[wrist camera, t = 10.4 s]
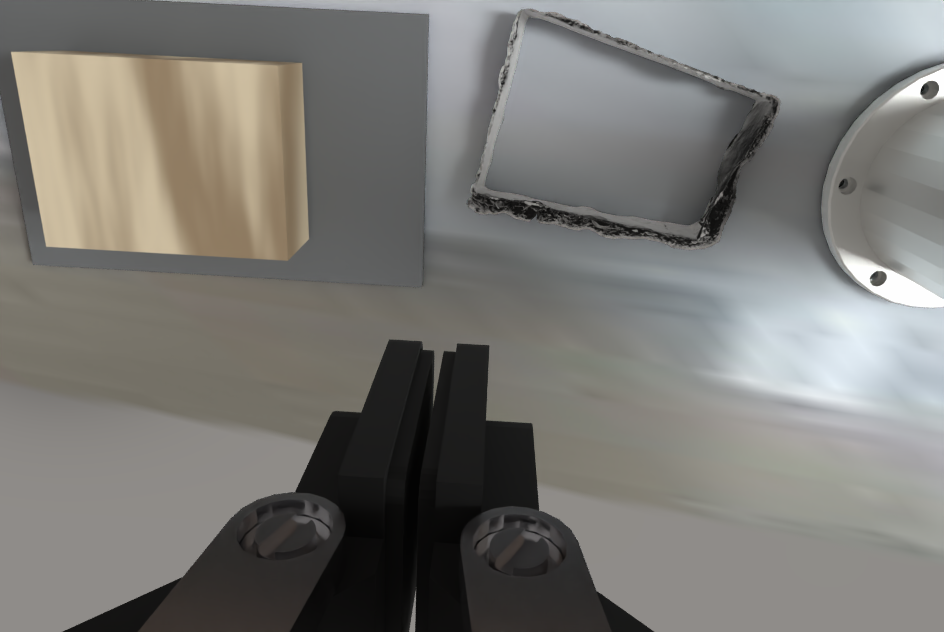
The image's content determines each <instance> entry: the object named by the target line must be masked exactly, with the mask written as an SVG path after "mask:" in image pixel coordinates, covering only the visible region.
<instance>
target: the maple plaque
mask: <svg viewBox="0 0 944 632" xmlns="http://www.w3.org/2000/svg"><path fill="white" fill-rule="evenodd" d="M11 55H12V61H13V66H14V72H15V77H16V83H17V88H18V94H19V99H20V105H21V110H22V116H23V121H24V127H25V132H26V138H27V143H28V149H29V154H30V160H31V165H32V171H33V176H34V182H35V187H36V193H37V198H38V204H39V209H40V215H41V221H42V226H43V232H44V237H45V243H46V247H60V248H78V249H95V250H112V251H129V252H147V253H164V254H181V255H198V256H216V257H233V258H250V259H267V260H285V261H288V260H289V259H290V258H291V257H292V256H293V255H294V254H295V253H296V252H297V251H298V250H299V249H300V248H301V247H302V246H303V245H304V244H305V243H306V242H307V241H308V240H309V226H308V200H307V175H306V149H305V124H304V98H303V72H302V63H294V62H275V61H256V60H237V59H217V58H198V57H179V56H159V55H140V54H121V53H102V52H82V51H22V52H11Z"/></svg>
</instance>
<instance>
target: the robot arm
mask: <svg viewBox="0 0 944 632" xmlns="http://www.w3.org/2000/svg"><path fill="white" fill-rule="evenodd" d="M922 85H924V90H923V92H922V93H920V89H921V87H922ZM843 179H844V184H843V185H842V186H841V187H839V184H840V182H841V181H842V180H843ZM821 215H822V223H823V231H824V234H825V237H826V240H827V243H828V246H829V249H830V251H831V253H832V254H833V256H834V258H835V259H836V261H837V262H838V264H839V266H840V267H841V268H842V269H843V270H844V271H845V272H846V273H847V274H848V275H849V276H850V277H851V278H852V279H853V280H854V281H855V282H856V283H857V284H859V285H860V286H862V287H863V288H864V289H866V290H867V291H869V292H870V293H872V294H874V295H876V296H879V297H881V298H883V299H885V300H887V301H889V302H893V303H897V304H901V305H905V306H909V307H919V308H940V307H944V63H943V64H940V65H937V66H934V67H931V68H928V69H925V70H922V71H920V72H918V73H916V74H914V75H912V76H910V77H908V78H906V79H905V80H903V81H901V82H899V83H897V84H896V85H894V86H893V87H892V88H890V89H889V90H888V91H886V92H885V93H884V94H882V95H881V96H880V97H878V98H877V99H876V100H874V101H873V102H872V103H871V105H870V106H869V107H868V108H867V109H866V110H865V111H864V112H863V113H862V114H861V115H860V116H859V117H858V118H857V119H856V120H855V121H854V123H853V124H852V126H851V127H850V129H849V130H848V131H847V133H846V134H845V136H844V137H843V138H842V140H841V141H840V143H839V145H838V148H837V150H836V152H835V154H834V156H833V158H832V160H831V162H830V164H829V168H828V171H827V175H826V178H825V182H824V185H823V192H822V204H821ZM873 273H874V274H873ZM872 274H873V276H871V275H872ZM488 362H489V346H488V345H472V344H457V348H456V352H447V351H444V353H443V359H442V364H441V369H440V374H439V380H438V385H437V390H436V395H435V401H434V406H433V388H434V351H430V350H423V344H422V342H421V341H405V340H389V341H388V344H387V347H386V349H385V352H384V354H383V357H382V360H381V362H380V365H379V368H378V370H377V373H376V375H375V378H374V381H373V383H372V386H371V389H370V391H369V394H368V396H367V399H366V402H365V404H364V407H363V410H362V412H361V413H358V412H342V411H334V412H333V413H332V414H331V416H330V418H329V420H328V422H327V424H326V426H325V428H324V431H323V433H322V435H321V437H320V439H319V441H318V444H317V446H316V448H315V450H314V452H313V454H312V457H311V459H310V461H309V463H308V465H307V468H306V470H305V472H304V474H303V476H302V478H301V481H300V483H299V485H298V487H297V489H296V492H290V493H282V494H274V495H271V496H268V497H265V498H261V499H258V500H256V501H254V502H252V503H250V504H249V505H247V506H245V507H243V508H242V509H240V511H238V512H237V513H236V514H235V515H234V516H233V517H232V518H231V519H230V520H229V521H228V522H227V524H226V525H225V526H224V527H223V528H222V530H221V531H220V532H219V533H218V534H217V536H216V537H215V538H214V539H213V541H212V542H211V543H210V544H209V545H208V547H207V548H206V549H205V550H204V552H203V553H202V554H201V555H200V556H199V558H198V559H197V560H196V561H195V563H194V564H193V565H192V566H191V567H190V569H189V570H188V571H187V572H186V574H185V575H184V576H183V577H182V578H180V579H177V580H175V581H173V582H171V583H169V584H166V585H164V586H162V587H160V588H158V589H155V590H153V591H151V592H149V593H147V594H144V595H142V596H140V597H138V598H136V599H134V600H131V601H129V602H127V603H125V604H122V605H120V606H118V607H116V608H114V609H111V610H110V611H107V612H105V613H103V614H101V615H98V616H96V617H94V618H92V619H90V620H87V621H85V622H83V623H81V624H79V625H76V626H75V627H72V628H70V629H68V630H65V631H63V632H409V628H410V622H411V615H412V609H413V603H414V597H415V591H416V622H415V623H416V624H415V632H654V631H652V630H651V629H649V628H648V627H647V626H645V625H644V624H643V623H641V622H640V621H638V620H637V619H635V618H634V617H633V616H631V615H630V614H628V613H627V612H626V611H624V610H623V609H621V608H620V607H618V606H617V605H616V604H614V603H613V602H611V601H610V600H609V599H607V598H606V597H604V596H603V595H602V594H600V593H599V592H597V591H596V588H595V586H594V583H593V580H592V578H591V575H590V572H589V569H588V567H587V564H586V562H585V559H584V556H583V553H582V550H581V548H580V546H579V542H578V540H577V539H576V537H575V535H574V534H573V532H572V530H571V529H570V528H569V527H567V526H566V525H565V524H564V523H563V522H562V521H560V520H559V519H557V518H555V517H553V516H551V515H549V514H547V513H545V512H542V511H539V503H538V490H537V477H536V463H535V450H534V437H533V426H532V423H518V422H502V421H486V405H487V383H488Z"/></svg>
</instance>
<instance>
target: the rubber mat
mask: <svg viewBox="0 0 944 632" xmlns="http://www.w3.org/2000/svg"><path fill="white" fill-rule="evenodd" d="M428 32H429V15H428V14H409V13H389V12H369V11H349V10H329V9H309V8H289V7H269V6H250V5H230V4H210V3H190V2H170V1H150V0H0V94H1V100H2V105H3V110H4V115H5V121H6V126H7V131H8V136H9V142H10V147H11V152H12V157H13V163H14V168H15V173H16V178H17V184H18V189H19V194H20V200H21V205H22V210H23V215H24V221H25V226H26V231H27V236H28V242H29V247H30V252H31V257H32V263H33V265H46V266H63V267H80V268H97V269H114V270H132V271H149V272H166V273H183V274H200V275H217V276H234V277H251V278H268V279H285V280H302V281H320V282H337V283H354V284H371V285H388V286H405V287H422V285H423V252H424V208H425V164H426V120H427V76H428ZM22 51H82V52H102V53H121V54H140V55H159V56H179V57H198V58H217V59H237V60H256V61H275V62H294V63H302V72H303V98H304V124H305V149H306V175H307V200H308V226H309V240H308V241H307V242H306V243H305V244H304V245H303V246H302V247H301V248H300V249H299V250H298V251H297V252H296V253H295V254H294V255H293V256H292V257H291V258H290V259H289V260H288V261H285V260H267V259H250V258H233V257H216V256H198V255H181V254H164V253H147V252H129V251H112V250H95V249H78V248H60V247H46V243H45V237H44V232H43V226H42V221H41V215H40V209H39V204H38V198H37V193H36V187H35V182H34V176H33V171H32V165H31V160H30V154H29V149H28V143H27V138H26V132H25V127H24V121H23V116H22V110H21V105H20V99H19V94H18V88H17V83H16V77H15V72H14V66H13V61H12V55H11V52H22Z"/></svg>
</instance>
